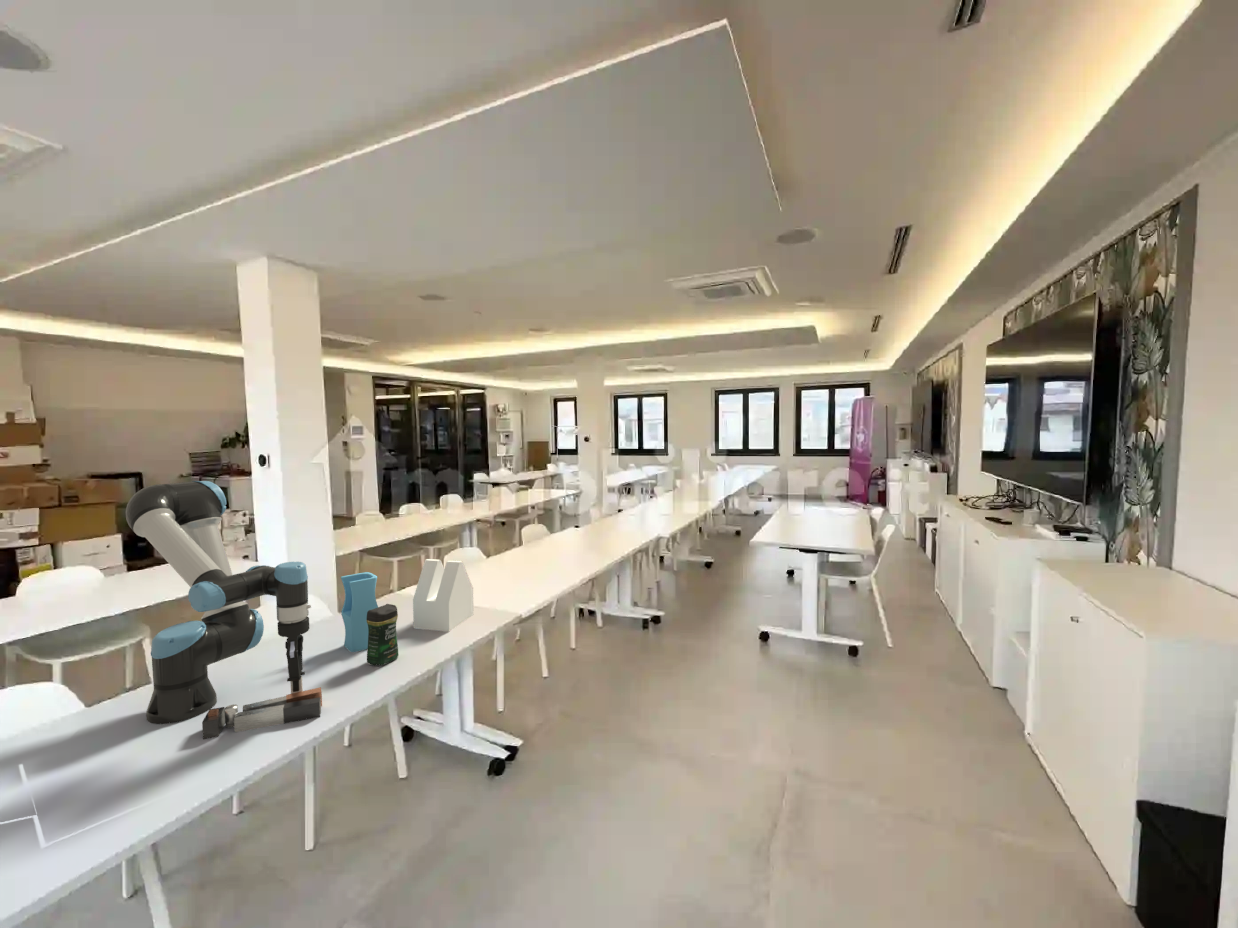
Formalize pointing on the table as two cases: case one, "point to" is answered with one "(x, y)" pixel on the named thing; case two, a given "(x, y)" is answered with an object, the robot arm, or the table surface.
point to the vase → (358, 608)
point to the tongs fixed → (261, 716)
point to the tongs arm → (270, 703)
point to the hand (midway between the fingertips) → (297, 700)
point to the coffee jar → (382, 635)
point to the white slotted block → (442, 596)
